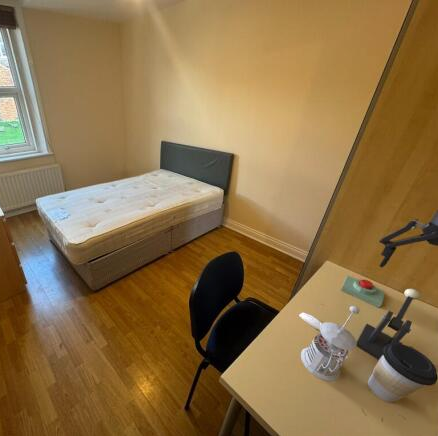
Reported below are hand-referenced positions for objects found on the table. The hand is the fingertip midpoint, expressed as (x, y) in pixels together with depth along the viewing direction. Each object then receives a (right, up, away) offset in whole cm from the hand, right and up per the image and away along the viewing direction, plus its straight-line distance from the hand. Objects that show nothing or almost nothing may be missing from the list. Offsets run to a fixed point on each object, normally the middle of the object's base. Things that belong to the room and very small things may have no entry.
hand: (412, 279), depth 66 cm
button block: (+10, -12, +27) cm, 31 cm away
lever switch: (+3, -11, +5) cm, 12 cm away
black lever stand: (-2, -23, +8) cm, 25 cm away
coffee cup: (-12, -30, -3) cm, 32 cm away
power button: (+10, -9, +25) cm, 28 cm away
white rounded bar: (-18, -20, +15) cm, 31 cm away
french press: (-24, -27, +3) cm, 36 cm away
